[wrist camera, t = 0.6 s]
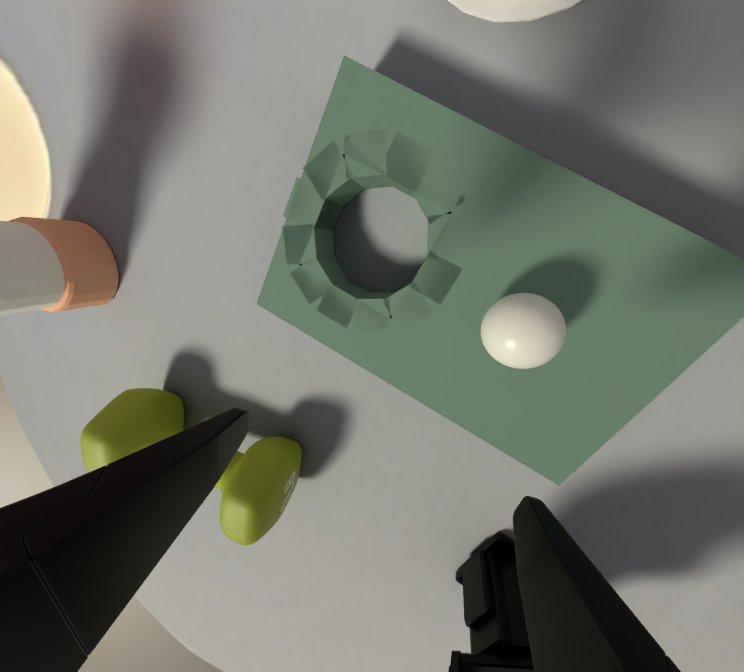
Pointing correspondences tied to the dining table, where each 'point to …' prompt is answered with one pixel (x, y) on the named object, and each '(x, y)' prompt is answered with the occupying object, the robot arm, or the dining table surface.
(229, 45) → the dining table surface
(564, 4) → the teacup
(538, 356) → the ball
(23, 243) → the salt shaker
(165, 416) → the dumbbell
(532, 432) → the green slab with hollow
